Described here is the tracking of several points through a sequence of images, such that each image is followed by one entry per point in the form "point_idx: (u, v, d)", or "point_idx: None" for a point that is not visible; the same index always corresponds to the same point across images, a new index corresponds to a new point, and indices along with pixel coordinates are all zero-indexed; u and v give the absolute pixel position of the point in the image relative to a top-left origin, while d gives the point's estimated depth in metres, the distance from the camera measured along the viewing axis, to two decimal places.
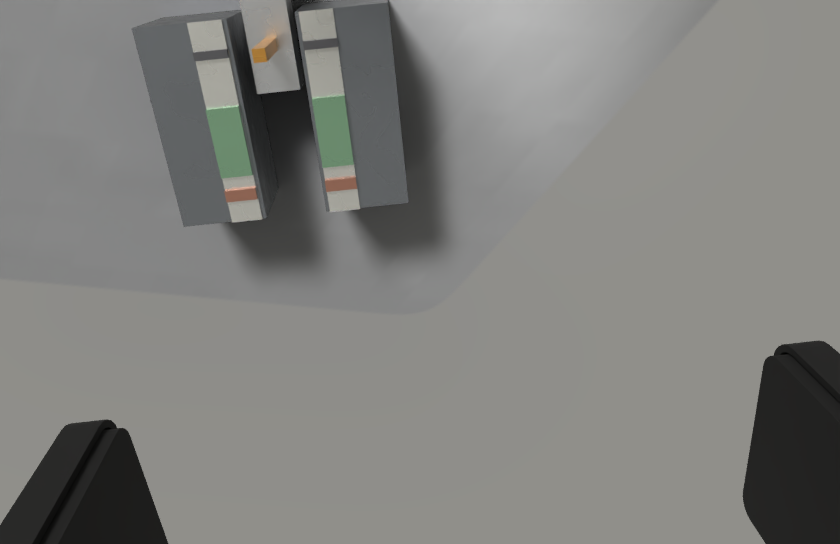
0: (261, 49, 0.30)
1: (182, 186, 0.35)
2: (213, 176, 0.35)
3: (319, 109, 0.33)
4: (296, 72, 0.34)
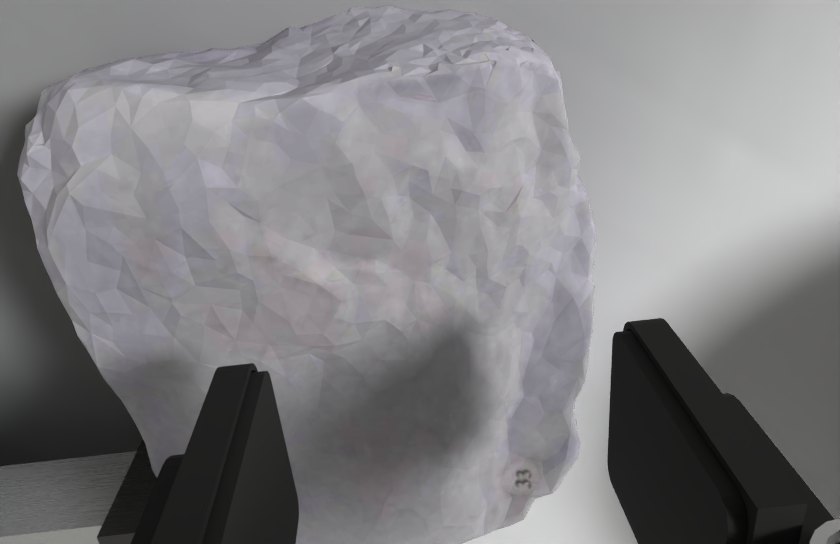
0: None
1: None
2: None
3: None
4: None
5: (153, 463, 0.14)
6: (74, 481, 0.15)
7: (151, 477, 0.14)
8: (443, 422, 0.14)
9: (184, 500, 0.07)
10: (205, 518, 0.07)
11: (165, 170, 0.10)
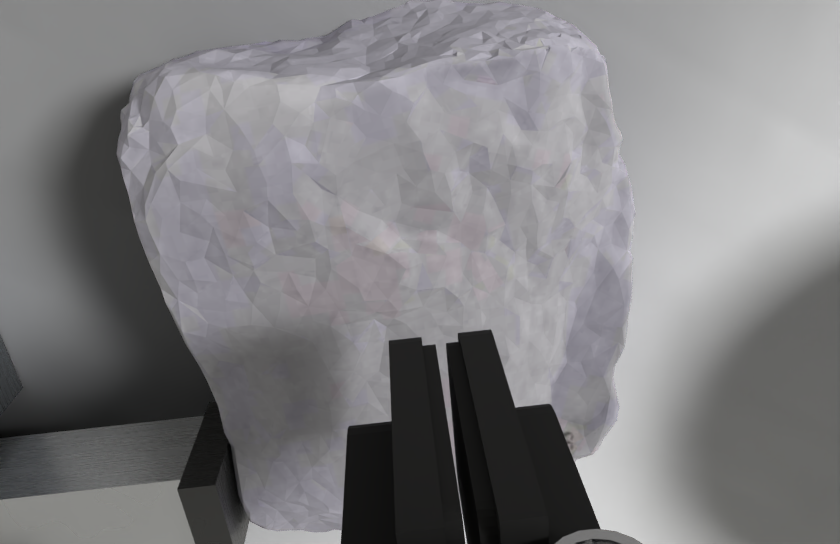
0: None
1: None
2: None
3: None
4: None
5: (225, 425, 0.15)
6: (148, 442, 0.16)
7: (221, 438, 0.15)
8: None
9: (411, 461, 0.08)
10: (438, 478, 0.07)
11: (255, 148, 0.11)
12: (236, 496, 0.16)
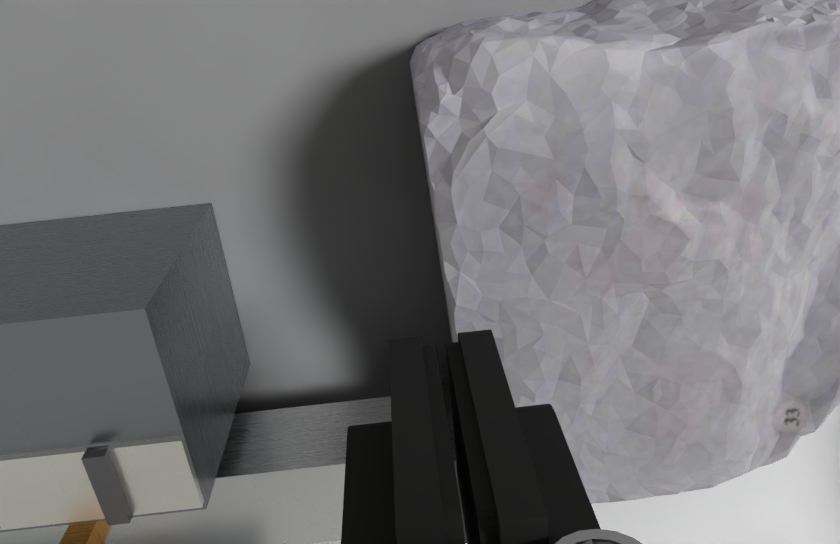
0: None
1: None
2: None
3: None
4: None
5: None
6: (377, 418, 0.16)
7: None
8: (742, 359, 0.15)
9: (411, 461, 0.08)
10: (438, 477, 0.07)
11: (580, 113, 0.11)
12: None
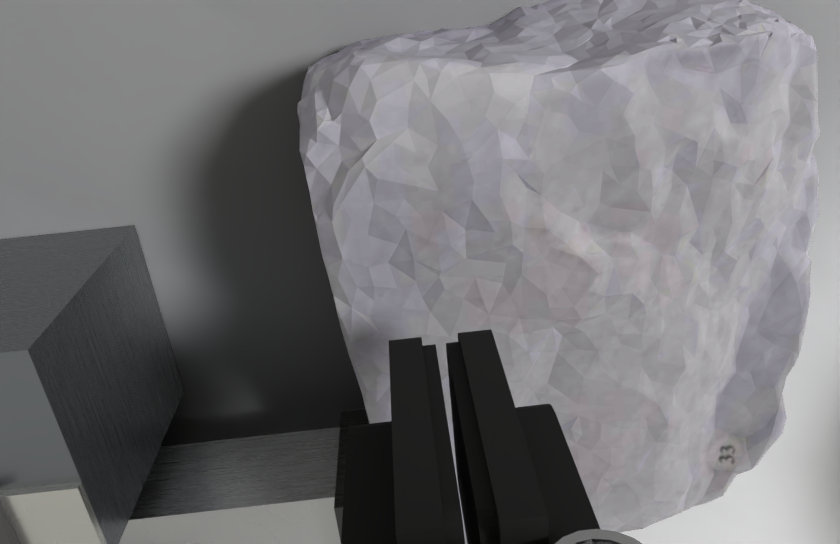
0: None
1: None
2: None
3: None
4: None
5: None
6: (285, 456, 0.15)
7: None
8: (667, 396, 0.14)
9: (411, 461, 0.08)
10: (437, 477, 0.07)
11: (464, 143, 0.10)
12: None
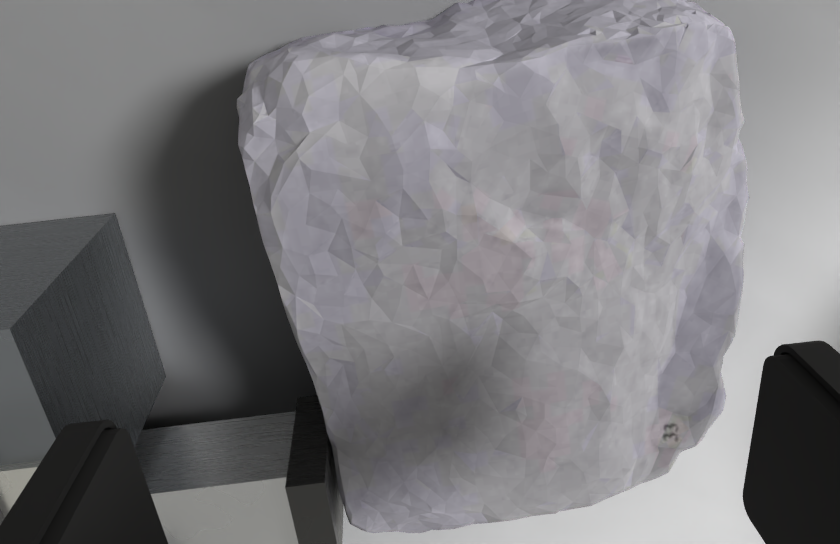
0: None
1: None
2: None
3: None
4: None
5: (329, 424, 0.14)
6: (241, 439, 0.15)
7: (319, 434, 0.15)
8: (608, 376, 0.14)
9: None
10: None
11: (392, 133, 0.11)
12: (335, 494, 0.15)
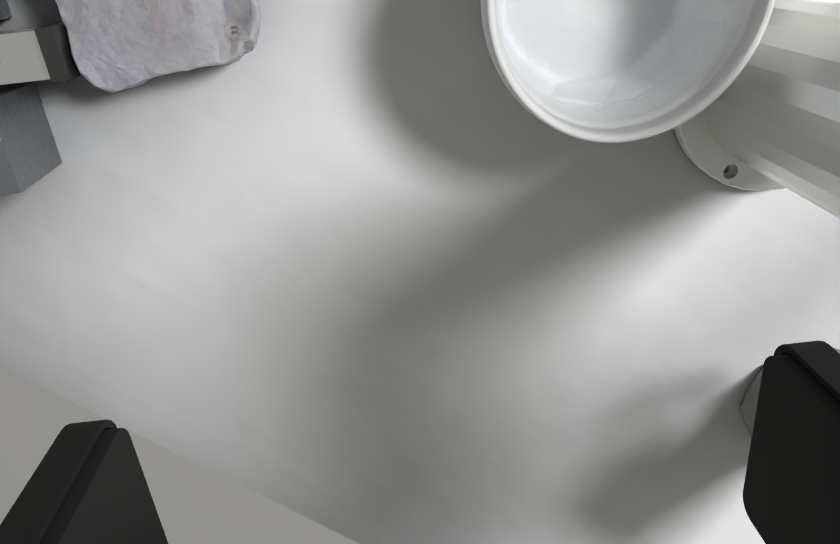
0: None
1: None
2: None
3: None
4: None
5: (61, 13, 0.32)
6: (26, 29, 0.32)
7: (60, 23, 0.32)
8: None
9: None
10: None
11: None
12: (68, 52, 0.32)
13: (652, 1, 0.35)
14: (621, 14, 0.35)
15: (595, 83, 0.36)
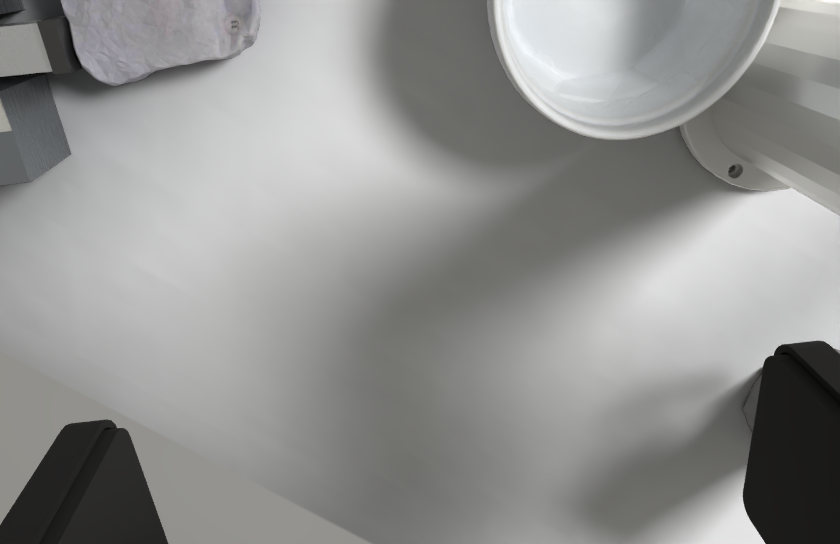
0: None
1: None
2: None
3: None
4: None
5: (63, 7, 0.32)
6: (29, 22, 0.33)
7: (63, 16, 0.32)
8: None
9: None
10: None
11: None
12: (70, 45, 0.33)
13: None
14: (627, 12, 0.35)
15: (601, 81, 0.37)
